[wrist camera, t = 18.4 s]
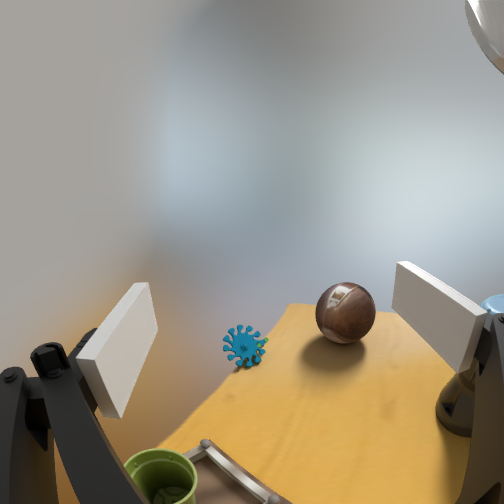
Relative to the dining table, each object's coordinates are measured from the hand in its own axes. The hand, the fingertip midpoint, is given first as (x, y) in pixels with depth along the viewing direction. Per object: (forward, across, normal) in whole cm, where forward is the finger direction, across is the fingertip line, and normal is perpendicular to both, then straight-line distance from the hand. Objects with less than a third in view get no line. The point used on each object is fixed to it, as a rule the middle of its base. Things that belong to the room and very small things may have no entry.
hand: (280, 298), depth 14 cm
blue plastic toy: (+42, -2, -35) cm, 54 cm away
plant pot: (+3, -14, -33) cm, 36 cm away
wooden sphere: (+46, +22, -35) cm, 62 cm away
